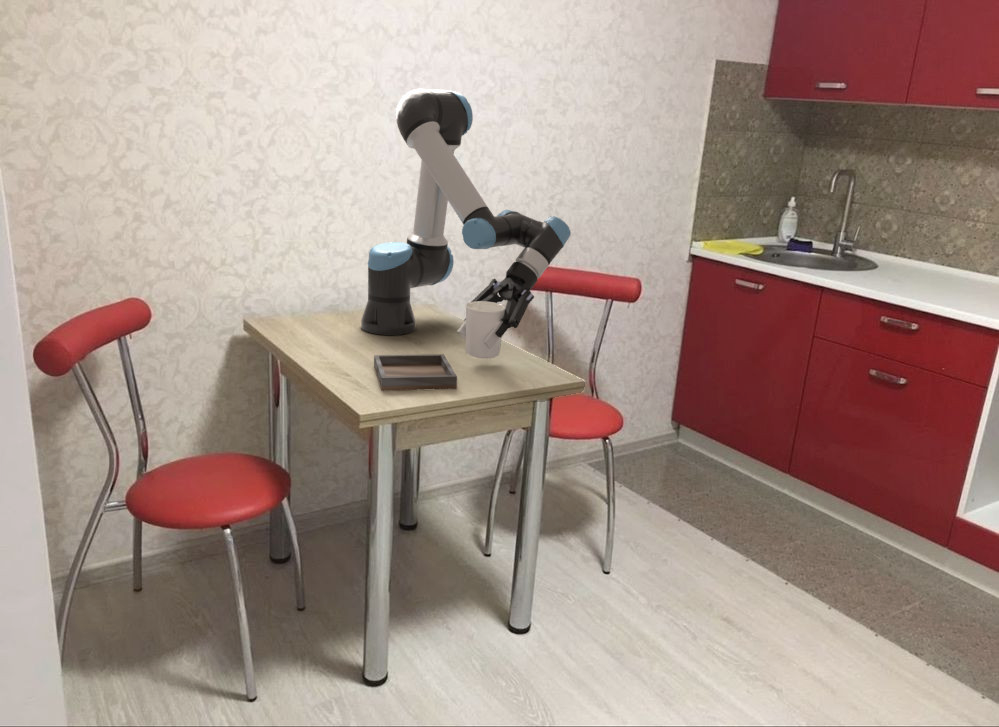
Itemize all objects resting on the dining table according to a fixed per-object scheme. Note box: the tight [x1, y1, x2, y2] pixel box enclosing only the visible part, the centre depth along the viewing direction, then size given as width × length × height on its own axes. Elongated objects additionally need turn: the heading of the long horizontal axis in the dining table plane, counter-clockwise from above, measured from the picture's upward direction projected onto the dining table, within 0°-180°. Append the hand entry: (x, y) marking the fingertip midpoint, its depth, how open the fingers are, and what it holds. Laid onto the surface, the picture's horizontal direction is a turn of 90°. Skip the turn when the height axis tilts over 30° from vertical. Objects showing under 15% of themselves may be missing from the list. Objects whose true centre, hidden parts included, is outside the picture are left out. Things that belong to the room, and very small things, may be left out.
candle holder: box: [465, 301, 506, 359], centre depth 210 cm, size 10×10×12 cm
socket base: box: [373, 353, 458, 392], centre depth 200 cm, size 17×17×3 cm
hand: (473, 339), depth 208 cm, fingers closed on candle holder, 9 cm apart
